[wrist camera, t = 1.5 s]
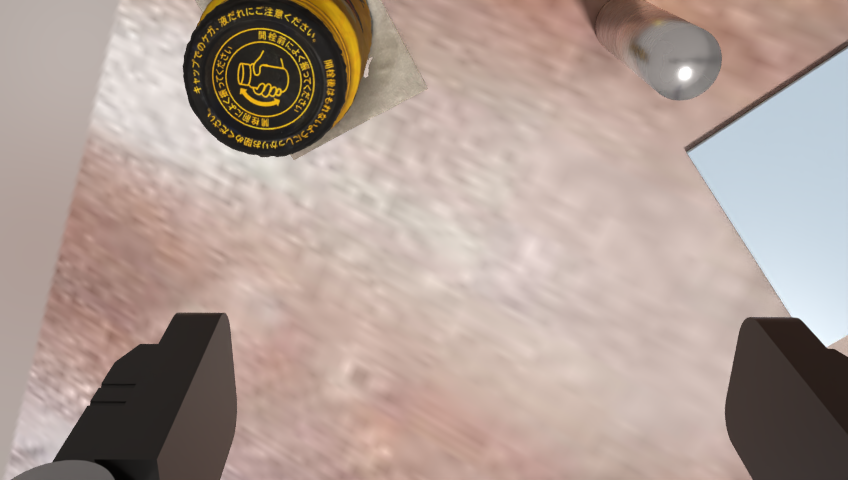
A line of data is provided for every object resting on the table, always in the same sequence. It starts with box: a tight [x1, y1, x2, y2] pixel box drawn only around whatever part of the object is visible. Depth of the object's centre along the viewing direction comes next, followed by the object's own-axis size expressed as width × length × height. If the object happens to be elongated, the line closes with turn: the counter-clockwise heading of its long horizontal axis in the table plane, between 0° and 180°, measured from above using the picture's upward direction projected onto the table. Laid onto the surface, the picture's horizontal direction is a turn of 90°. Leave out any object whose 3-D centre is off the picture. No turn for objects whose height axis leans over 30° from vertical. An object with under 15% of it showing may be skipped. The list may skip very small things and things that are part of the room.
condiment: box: [183, 0, 428, 160], centre depth 32 cm, size 7×8×12 cm
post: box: [595, 0, 722, 100], centre depth 33 cm, size 3×3×9 cm
